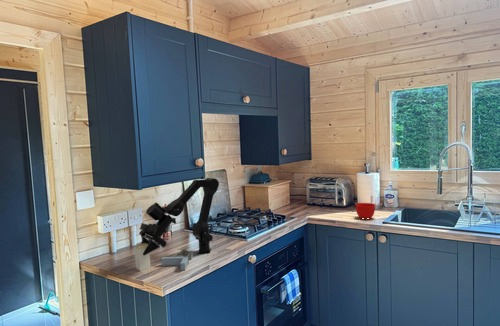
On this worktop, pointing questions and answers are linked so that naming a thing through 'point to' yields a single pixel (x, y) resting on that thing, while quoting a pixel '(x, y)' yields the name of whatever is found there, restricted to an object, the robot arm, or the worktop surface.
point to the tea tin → (142, 257)
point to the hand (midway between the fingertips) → (141, 253)
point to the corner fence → (175, 261)
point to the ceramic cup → (365, 210)
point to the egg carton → (184, 254)
